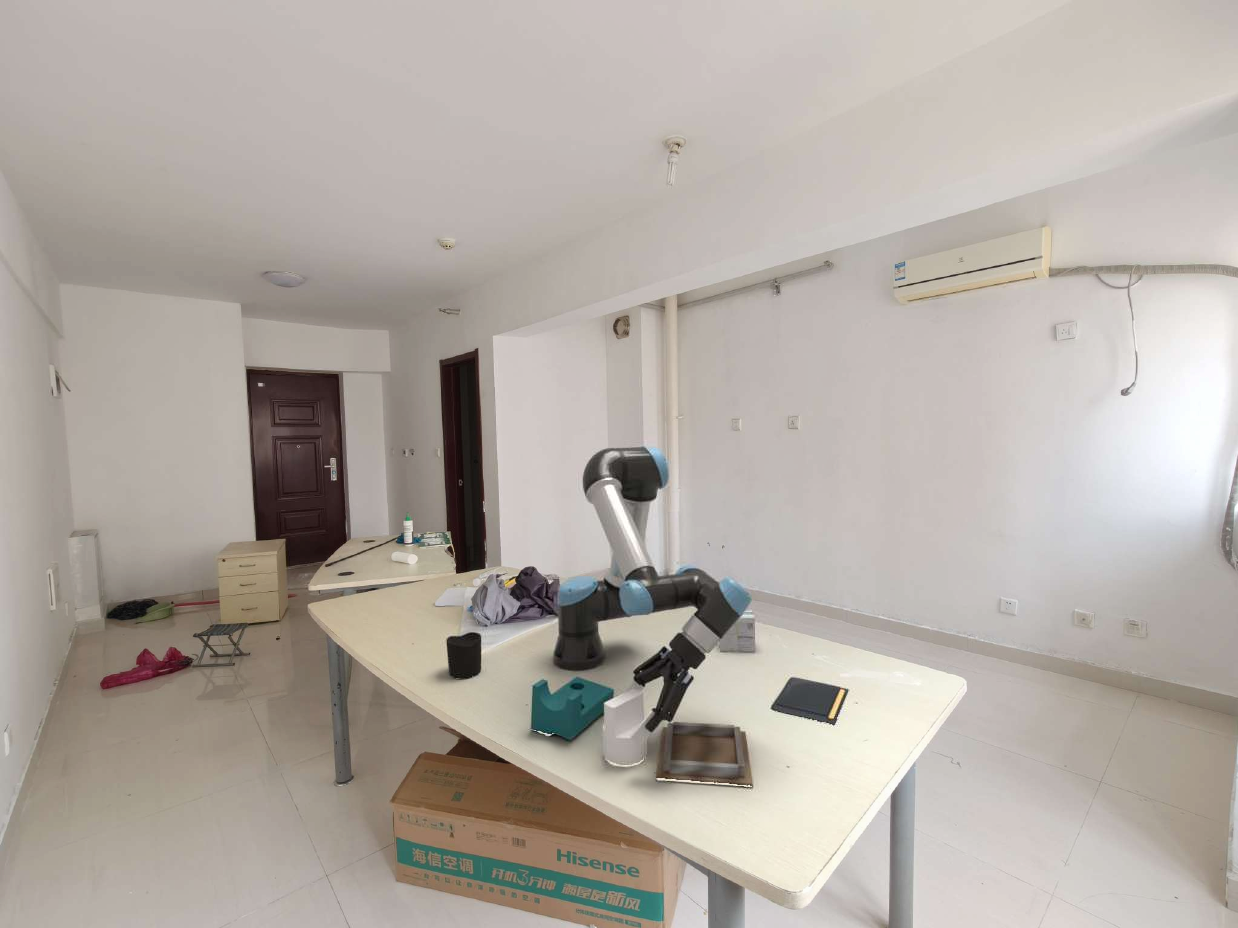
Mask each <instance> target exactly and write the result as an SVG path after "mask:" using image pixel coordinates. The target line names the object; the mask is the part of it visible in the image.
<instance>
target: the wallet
mask: <svg viewBox="0 0 1238 928" xmlns="http://www.w3.org/2000/svg"><path fill="white" fill-rule="evenodd" d="M849 692H850V691H849V689H848V688H845V687H841V686H837V685H834V684H829V683H824V682H819V681H814V680H809V679H804V678H800V677H796V676H795V677H794V676H792V677H789V679H788V680H787V682H786V683H785V685H784V687H783V688H782V689H781V692H780V693H779V694H778V696H776V698H775V700H774V701H773V703H772V704H771V706H770V710H772V711H773V712H776V711H777V713H781V714H785V715H789V716H794V717H797V716H798V718H802V717H804V718H803V719H806V718H807V719H806V720H810V719H812V720H811V721H814V720H817V721H816V722H819V723H822V722H826V723H829V724H828V725H831V724H832V726H835V725H836V724H837V722H838V719H837V717H838V718H839V716H838V715H840V713H841V711H840V710H842V707H843V706H842V705H844V704H845V703H844V702H845V700H846V697H847V695H848V694H849ZM836 721H837V722H836ZM826 723H825V724H826ZM835 723H836V724H835Z"/></svg>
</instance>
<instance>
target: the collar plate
mask: <svg viewBox="0 0 1238 928" xmlns="http://www.w3.org/2000/svg"><path fill="white" fill-rule="evenodd" d="M658 751H659V752H658V758H657V765H656V773H655V779H656V778H665V779H676V780H691V781H700V782H714V783H716V782H717V783H729V784H737V785H747V786H748V785H750V786H753V787H754V782H753V776H752V775H753V774H752V768H751V761H750V754H749V746H748V740H747V733H746V731H741V726H735V725H734V724H724V723H723V724H720V723H719V724H717V723H703V722H702V723H701V722H688V721H687V722H686V721H685V722H684V721H672V722H667V725H666V726H662V729H661V736H660V744H659V750H658Z"/></svg>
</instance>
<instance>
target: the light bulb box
mask: <svg viewBox="0 0 1238 928" xmlns="http://www.w3.org/2000/svg"><path fill="white" fill-rule="evenodd" d="M755 620H756V619H755V615H754V612H753V610H745V611H744V613H743V615H742V616H741V617H740V618H739V619H738V620H737V621H736V622H735V623H734V624H733V626H732V627H731V628H730V629H729V630H728V631H727V633H726V634H725V635H724V636H723V638H722V639H721V640H720V641H719V642H718V646H719V652H728V653H729V652H734V653H737V652H738V653H739V652H740V653H756V623H755V622H756V621H755Z"/></svg>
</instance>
